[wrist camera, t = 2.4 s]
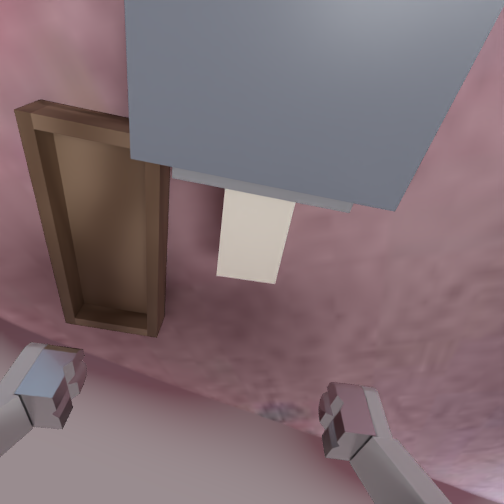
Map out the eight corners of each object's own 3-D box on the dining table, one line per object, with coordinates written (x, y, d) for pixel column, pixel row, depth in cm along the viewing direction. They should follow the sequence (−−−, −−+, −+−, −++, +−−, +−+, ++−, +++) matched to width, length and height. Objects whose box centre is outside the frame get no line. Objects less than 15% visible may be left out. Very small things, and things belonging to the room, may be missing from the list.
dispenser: (414, 2, 13) (508, -3, 8) (351, 164, 17) (384, 230, 12) (183, -56, 12) (119, -103, 7) (175, 127, 16) (131, 180, 11)
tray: (171, 127, 16) (160, 139, 15) (164, 316, 25) (156, 337, 23) (40, 99, 16) (13, 109, 14) (79, 302, 24) (66, 323, 23)
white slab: (323, 17, 13) (341, 20, 10) (274, 234, 20) (274, 284, 16) (251, 5, 13) (243, 2, 10) (226, 227, 20) (216, 276, 16)
